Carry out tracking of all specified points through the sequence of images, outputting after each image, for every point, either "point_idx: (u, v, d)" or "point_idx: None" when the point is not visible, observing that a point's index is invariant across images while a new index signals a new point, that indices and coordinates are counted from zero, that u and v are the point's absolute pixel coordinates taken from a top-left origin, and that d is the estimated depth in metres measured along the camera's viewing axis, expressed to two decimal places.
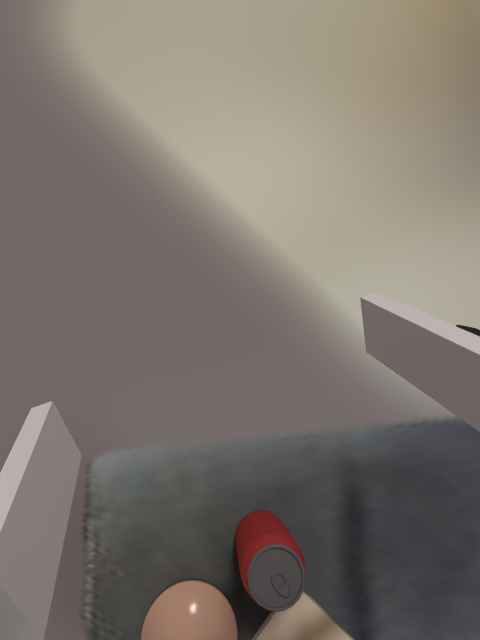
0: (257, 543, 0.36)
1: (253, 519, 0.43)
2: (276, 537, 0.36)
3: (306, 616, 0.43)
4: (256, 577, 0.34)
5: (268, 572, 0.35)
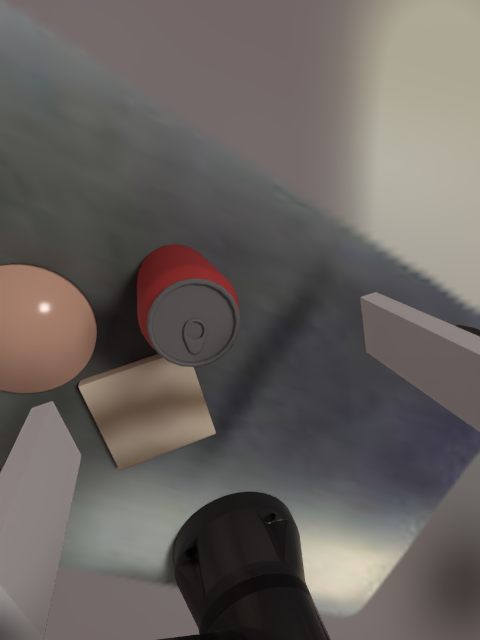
0: (191, 270, 0.22)
1: (185, 250, 0.28)
2: (221, 279, 0.22)
3: (179, 382, 0.34)
4: (166, 309, 0.21)
5: (186, 313, 0.21)
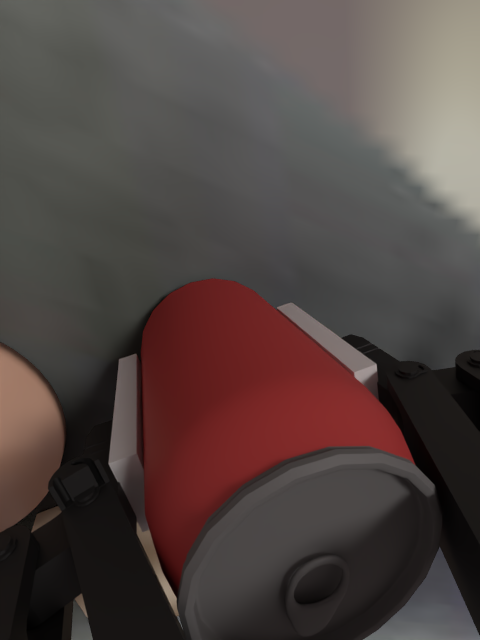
0: (311, 404, 0.07)
1: (243, 298, 0.14)
2: (385, 419, 0.08)
3: None
4: (240, 541, 0.07)
5: (299, 540, 0.07)
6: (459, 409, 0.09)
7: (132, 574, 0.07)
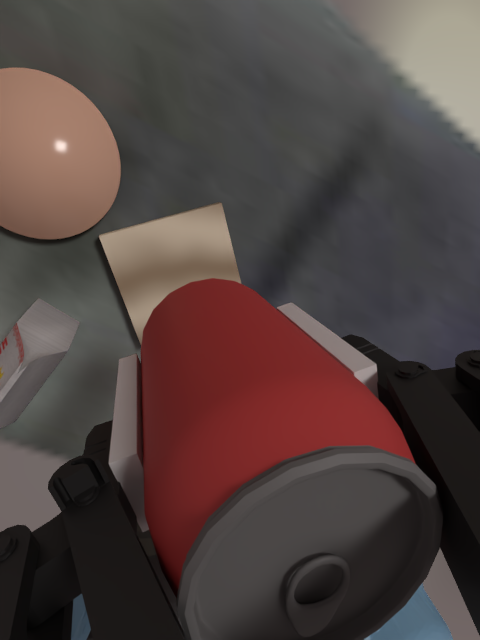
0: (312, 403, 0.07)
1: (243, 298, 0.14)
2: (385, 419, 0.08)
3: (211, 244, 0.30)
4: (240, 541, 0.07)
5: (299, 540, 0.07)
6: (459, 409, 0.09)
7: (132, 574, 0.07)
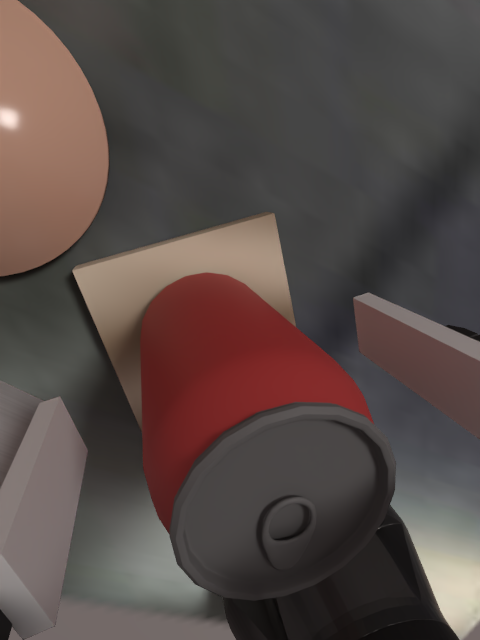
0: (283, 369, 0.09)
1: (233, 289, 0.15)
2: (347, 385, 0.09)
3: (256, 279, 0.19)
4: (221, 481, 0.08)
5: (272, 483, 0.08)
6: None
7: None
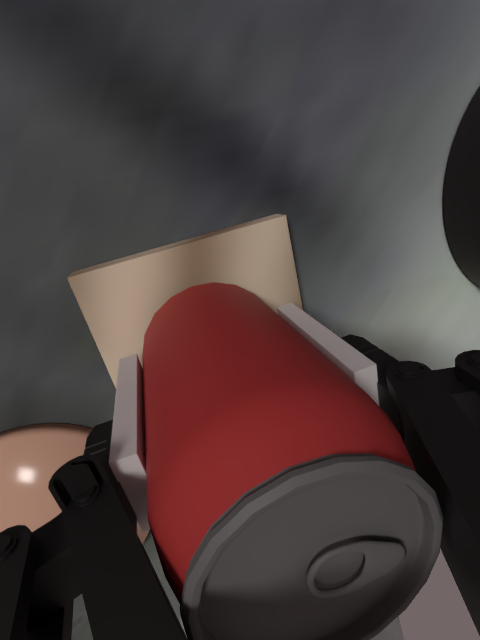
0: (161, 555, 0.07)
1: (144, 376, 0.14)
2: (190, 482, 0.07)
3: (150, 292, 0.16)
4: (267, 633, 0.08)
5: (285, 590, 0.07)
6: (459, 409, 0.09)
7: (133, 574, 0.07)
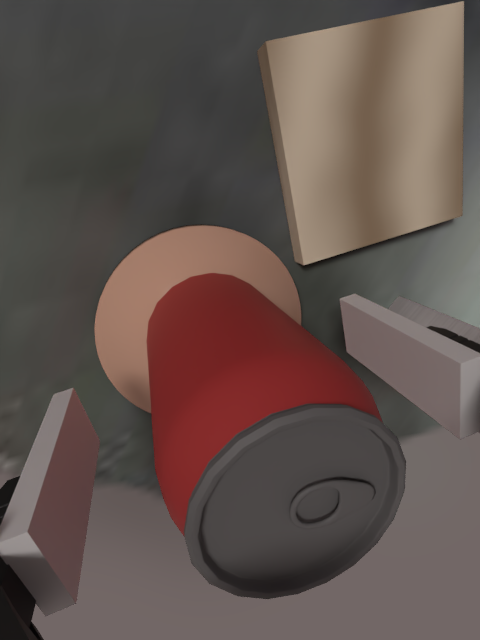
0: (168, 495, 0.09)
1: (149, 357, 0.15)
2: (191, 430, 0.08)
3: (334, 72, 0.17)
4: (258, 561, 0.09)
5: (272, 523, 0.09)
6: None
7: None
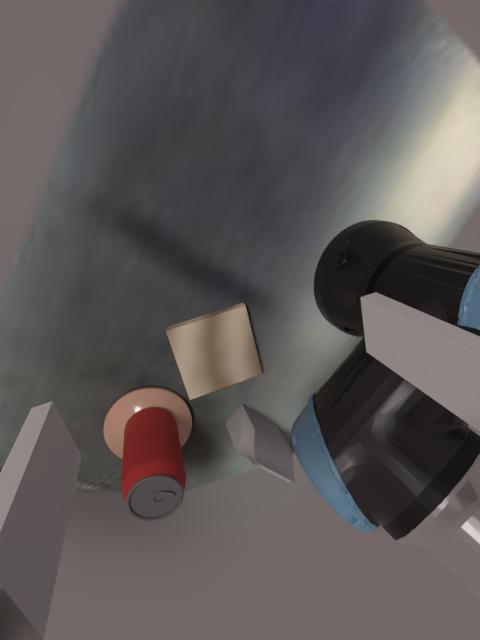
0: (123, 495, 0.36)
1: (123, 446, 0.42)
2: (128, 479, 0.36)
3: (194, 335, 0.44)
4: (146, 511, 0.36)
5: (148, 501, 0.36)
6: None
7: None
